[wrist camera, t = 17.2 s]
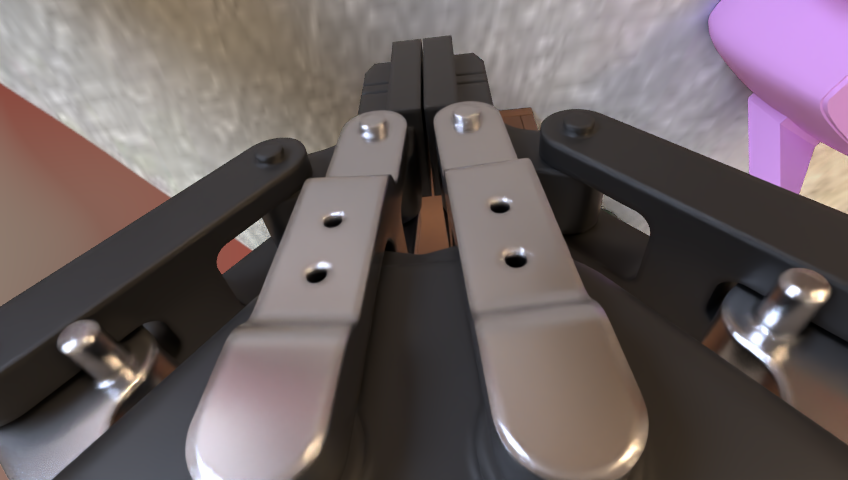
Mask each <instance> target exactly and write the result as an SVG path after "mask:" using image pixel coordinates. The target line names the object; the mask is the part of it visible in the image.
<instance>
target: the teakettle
mask: <svg viewBox="0 0 848 480" xmlns="http://www.w3.org/2000/svg"><path fill="white" fill-rule="evenodd" d="M708 25H709V33H710V37H711V39H712V42H713V44H714V46H715V48H716V50H717V51H718V53H719V54H720V55H721V57H722V58H723V60H724V61H725V62H726V64H727V65H728V66H729V67H730V69H731V70H732V71H733V72H734V73H735V74H736V76H737V77H738V78H739V79H740V80H741V81H742V82H743V83H744V84H745V85H746V86H747V87H748V88H749V89H750V90H751V91H752V92H753V94H752V95H751V96H750V97H749V98H748V132H749V174H750V175H752V176H755V177H757V178H760V179H762V180H765V181H767V182H770V183H772V184H774V185H777V186H779V187H782V188H784V189H787V190H789V191H792V192H794V193H797V194H799V193H800V190H801V187H802V184H803V181H804V178H805V175H806V172H807V169H808V166H809V163H810V160H811V157H812V154H813V151H814V148H815V146H816V145H817V144H819V143H820V142H822V143H824V144H826V145H828V146H830V147H831V148H833V149H835V150H837V151H839V152H841V153H843V154H845V155H847V156H848V0H721V1H720V2H719V3H718V4H717V5H716V7H715V8H714V10H713V11H712V13H711V14H710V16H709V19H708Z"/></svg>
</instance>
